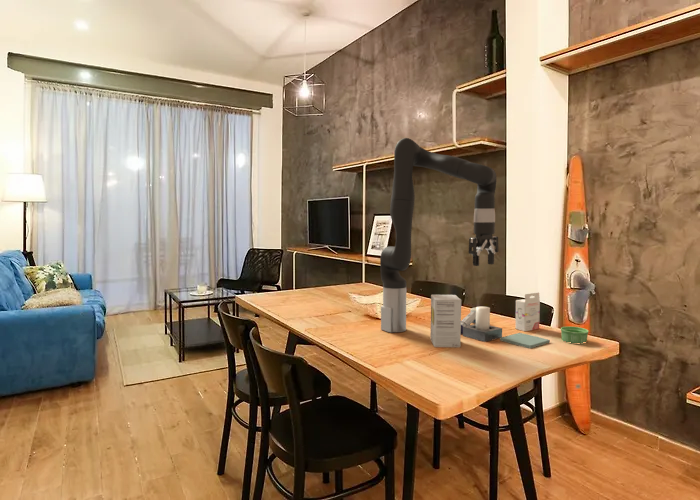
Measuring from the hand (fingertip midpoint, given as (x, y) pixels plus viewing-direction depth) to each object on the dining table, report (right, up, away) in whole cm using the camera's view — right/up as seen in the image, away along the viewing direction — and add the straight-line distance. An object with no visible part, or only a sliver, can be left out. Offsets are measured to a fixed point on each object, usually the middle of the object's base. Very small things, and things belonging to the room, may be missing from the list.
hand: (483, 265), depth 162 cm
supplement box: (-16, -28, -7) cm, 33 cm away
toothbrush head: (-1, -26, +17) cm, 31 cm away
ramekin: (+31, -28, -4) cm, 42 cm away
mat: (+13, -27, -5) cm, 31 cm away
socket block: (0, -27, +2) cm, 27 cm away
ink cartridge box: (+21, -26, +13) cm, 36 cm away
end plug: (0, -27, +2) cm, 27 cm away
